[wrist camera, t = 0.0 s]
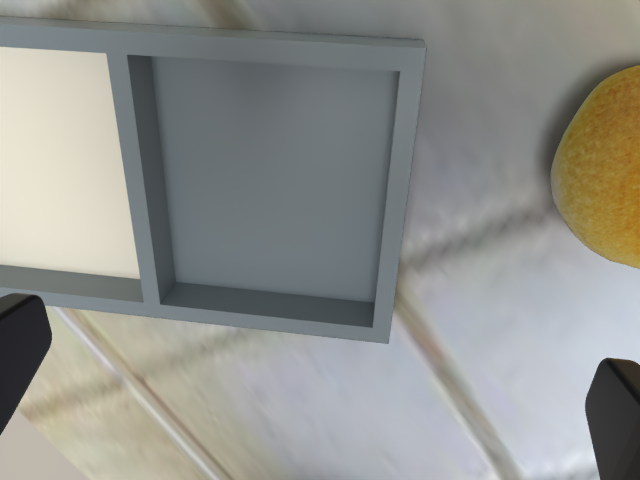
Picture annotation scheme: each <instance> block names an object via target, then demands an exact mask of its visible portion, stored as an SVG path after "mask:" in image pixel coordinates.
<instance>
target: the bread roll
mask: <svg viewBox="0 0 640 480" xmlns="http://www.w3.org/2000/svg"><path fill="white" fill-rule="evenodd" d="M551 191H552V196H553V200H554V203H555V205H556V207H557V209H558V211H559V213H560V214H561V215H562V217H563V219H564V221H565V223H566V224H567V225H568V227H569V228H570V229H571V231H572V232H573V233H574V235H575V236H576V237H577V238H578V239H579V240H580V241H581V242H582V243H583V244H584V245H585V246H587V247H588V248H589V249H591V250H592V251H594V252H595V253H597V254H599V255H600V256H602V257H604V258H606V259H608V260H610V261H613V262H617V263H621V264H625V265H628V266H631V267H635V268H639V269H640V65H637V66H633V67H630V68H627V69H624V70H622V71H620V72H617V73H615V74H613V75H611V76H609V77H608V78H606V79H605V80H603V81H602V82H600V83H599V84H598V85H597V86H596V87H595V88H594V89H593V91H592V92H591V93H590V94H589V95H588V96H587V98H586V99H585V101H584V102H583V104H582V105H581V107H580V108H579V110H578V111H577V113H576V114H575V116H574V117H573V119H572V121H571V122H570V124H569V126H568V127H567V129H566V131H565V132H564V134H563V137H562V139H561V142H560V144H559V146H558V148H557V151H556V154H555V157H554V160H553V163H552V168H551Z"/></svg>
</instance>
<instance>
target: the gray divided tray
mask: <svg viewBox="0 0 640 480" xmlns="http://www.w3.org/2000/svg"><path fill="white" fill-rule="evenodd" d="M426 49H427V48H426V46H425V43H424V41H423V40H419V39H401V38H383V37H365V36H347V35H329V34H312V33H294V32H276V31H258V30H240V29H222V28H204V27H186V26H168V25H150V24H132V23H115V22H97V21H79V20H61V19H43V18H25V17H7V16H0V297H2V296H5V295H8V294H11V293H16V292H18V293H28V294H36V295H38V296H40V297H41V299H42V300H43V302H44V305H48V306H57V307H66V308H74V309H83V310H92V311H101V312H110V313H119V314H128V315H137V316H145V317H154V318H163V319H172V320H181V321H190V322H199V323H208V324H216V325H225V326H234V327H243V328H252V329H261V330H270V331H279V332H287V333H296V334H305V335H314V336H323V337H332V338H341V339H350V340H358V341H367V342H376V343H385V344H389V337H390V329H391V321H392V313H393V306H394V298H395V290H396V282H397V275H398V267H399V259H400V251H401V244H402V236H403V228H404V220H405V212H406V205H407V197H408V189H409V181H410V174H411V166H412V158H413V150H414V143H415V135H416V127H417V119H418V112H419V104H420V96H421V88H422V81H423V73H424V65H425V57H426Z"/></svg>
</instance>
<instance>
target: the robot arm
mask: <svg viewBox="0 0 640 480" xmlns="http://www.w3.org/2000/svg"><path fill="white" fill-rule="evenodd" d="M51 341H52V332H51V328H50V324H49V320H48V317H47V313H46V309H45V305H44V302H43V300H42V299H41V297H40V296H38V295H36V294H28V293H18V292H16V293H11V294H8V295H5V296H2V297H0V435H1V433H2V432H3V430H4V429H5V427H6V425H7V424H8V422H9V420H10V419H11V417H12V415H13V413H14V412H15V410H16V408H17V406H18V404H19V403H20V401H21V399H22V397H23V395H24V394H25V392H26V390H27V388H28V386H29V385H30V383H31V381H32V379H33V377H34V375H35V374H36V372H37V370H38V368H39V366H40V365H41V363H42V361H43V359H44V357H45V356H46V354H47V352H48V350H49V348H50V345H51ZM585 411H586V417H587V421H588V426H589V430H590V435H591V440H592V444H593V449H594V453H595V458H596V462H597V467H598V471H599V476H600V480H640V365H639V364H638V363H636V362H634V361H631V360H624V359H615V358H606V359H603V360H602V361H601V362H600V364H599V366H598V368H597V371H596V373H595V376H594V378H593V381H592V384H591V386H590V389H589V391H588V394H587V397H586V402H585Z"/></svg>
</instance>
